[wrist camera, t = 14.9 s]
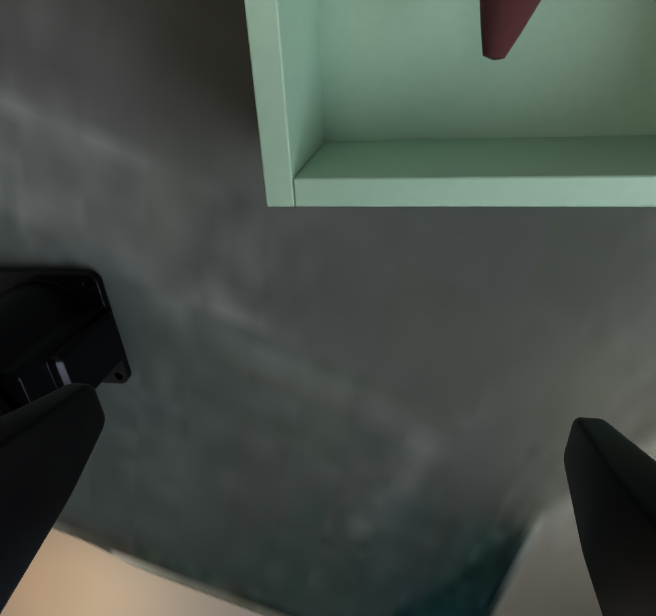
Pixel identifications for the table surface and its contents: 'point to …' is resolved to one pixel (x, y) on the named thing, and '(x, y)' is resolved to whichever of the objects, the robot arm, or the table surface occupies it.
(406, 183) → the green open box
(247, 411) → the table surface
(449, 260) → the table surface
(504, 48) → the icecream
